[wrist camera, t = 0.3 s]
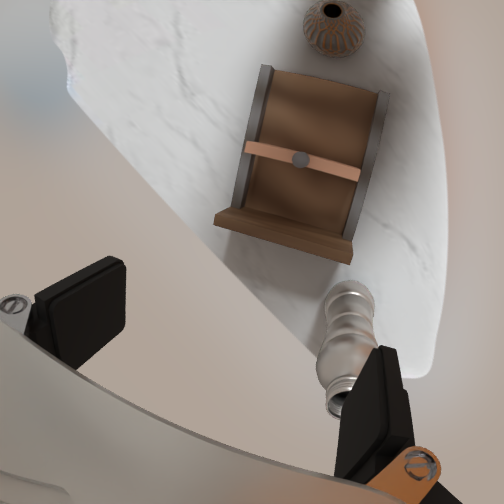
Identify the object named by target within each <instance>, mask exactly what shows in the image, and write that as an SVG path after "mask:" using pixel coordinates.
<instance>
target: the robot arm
mask: <svg viewBox="0 0 504 504" xmlns="http://www.w3.org/2000/svg"><path fill="white" fill-rule="evenodd" d="M34 296H35V303H34V304H32V302H31V300H30V299H29V298H28V297H27V296H24V295H20V294H12V295H8V296H5V297H3V298H2V299H0V504H462V503H461V502H460V501H459V500H458V499H457V498H455V497H454V496H453V495H452V494H451V493H450V492H449V491H448V490H447V489H446V488H445V487H444V486H442V485H441V484H440V483H439V482H438V481H437V480H438V479H439V477H440V475H441V465H440V462H439V460H438V459H437V457H436V456H435V455H434V454H433V453H432V452H431V451H430V450H428V449H426V448H423V447H420V446H415V440H414V432H413V425H412V417H411V411H410V405H409V398H408V393H407V391H406V390H405V389H403V384H402V378H401V372H400V367H399V361H398V356H397V351H396V349H394V348H390V347H386V346H383V345H380V346H379V347H378V349H377V348H373V349H372V351H371V353H370V355H369V357H368V359H367V360H366V362H365V364H364V366H363V368H362V370H361V372H360V374H359V376H358V378H357V379H356V381H355V383H354V385H353V387H352V388H351V390H350V392H349V394H348V396H347V397H346V399H345V401H344V403H343V406H342V409H341V419H340V429H339V439H338V448H337V457H336V464H335V472H334V476H330V475H326V474H322V473H318V472H313V471H309V470H305V469H302V468H298V467H294V466H291V465H287V464H284V463H280V462H277V461H274V460H271V459H267V458H264V457H260V456H257V455H255V454H251V453H248V452H245V451H242V450H240V449H237V448H234V447H231V446H228V445H226V444H223V443H220V442H218V441H215V440H212V439H210V438H207V437H205V436H202V435H200V434H198V433H195V432H193V431H190V430H188V429H186V428H183V427H181V426H179V425H177V424H174V423H172V422H170V421H168V420H166V419H163V418H161V417H159V416H157V415H155V414H153V413H151V412H149V411H147V410H145V409H143V408H141V407H139V406H137V405H135V404H133V403H131V402H129V401H127V400H126V399H124V398H122V397H120V396H118V395H116V394H115V393H113V392H111V391H109V390H107V389H106V388H104V387H102V386H101V385H99V384H97V383H96V382H94V381H92V380H91V379H89V378H87V377H86V376H84V375H82V374H81V373H79V372H78V371H76V370H77V369H78V368H79V367H80V366H81V365H83V364H84V363H85V362H86V361H87V360H88V359H90V358H91V357H92V356H93V355H94V354H95V353H96V352H98V351H99V350H100V349H101V348H103V347H104V346H105V345H106V344H107V343H108V342H110V341H111V340H112V339H113V338H114V337H115V336H117V335H118V334H119V333H120V332H121V331H122V330H123V329H124V327H125V304H126V301H125V300H126V266H125V265H124V262H123V261H122V260H120V259H118V258H115V257H113V256H107V257H105V258H103V259H101V260H99V261H97V262H95V263H93V264H91V265H90V266H87V267H85V268H83V269H82V270H79V271H78V272H76V273H74V274H72V275H70V276H68V277H66V278H64V279H63V280H60V281H59V282H57V283H55V284H53V285H51V286H49V287H47V288H46V289H44V290H42V291H40V292H39V293H37V294H35V295H34Z"/></svg>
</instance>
